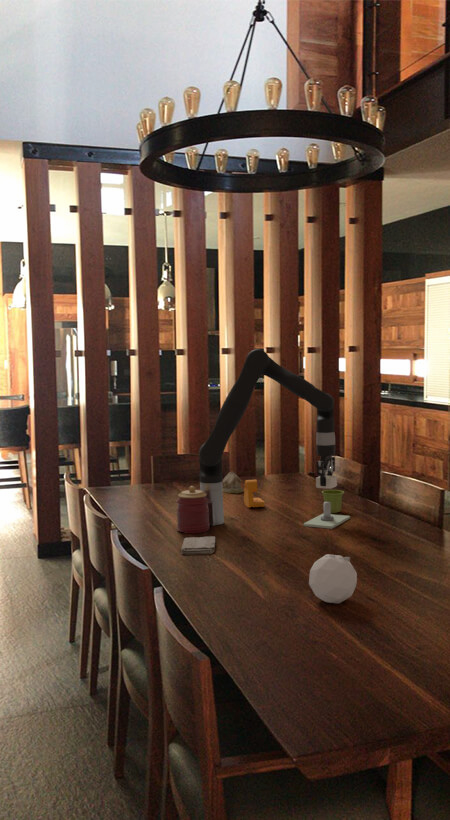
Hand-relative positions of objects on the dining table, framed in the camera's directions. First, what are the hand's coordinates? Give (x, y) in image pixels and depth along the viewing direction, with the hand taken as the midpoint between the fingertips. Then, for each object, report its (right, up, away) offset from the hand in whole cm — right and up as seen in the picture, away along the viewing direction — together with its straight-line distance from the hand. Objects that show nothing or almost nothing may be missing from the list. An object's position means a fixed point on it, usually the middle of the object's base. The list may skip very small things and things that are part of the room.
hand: (326, 484), depth 308 cm
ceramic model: (-37, -11, +75) cm, 84 cm away
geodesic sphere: (-11, -24, -95) cm, 98 cm away
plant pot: (+6, -14, +20) cm, 25 cm away
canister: (-53, -18, -6) cm, 56 cm away
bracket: (-28, -14, +37) cm, 48 cm away
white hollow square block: (0, -1, 0) cm, 1 cm away
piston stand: (0, -15, +1) cm, 15 cm away
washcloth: (-50, -20, -33) cm, 63 cm away
